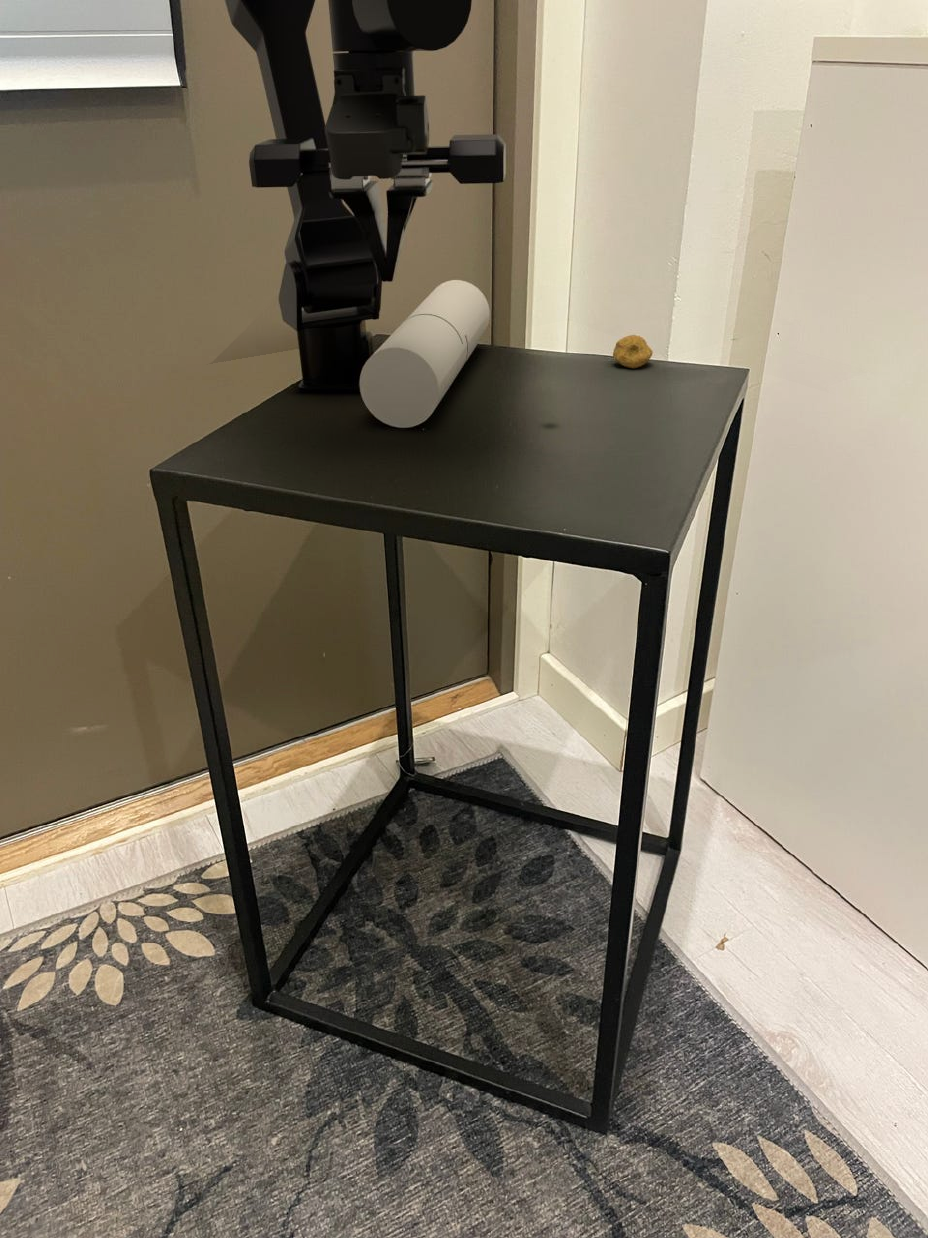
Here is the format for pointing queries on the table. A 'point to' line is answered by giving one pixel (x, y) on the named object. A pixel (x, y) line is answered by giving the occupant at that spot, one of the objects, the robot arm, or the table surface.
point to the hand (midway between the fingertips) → (388, 280)
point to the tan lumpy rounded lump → (632, 351)
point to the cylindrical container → (424, 355)
